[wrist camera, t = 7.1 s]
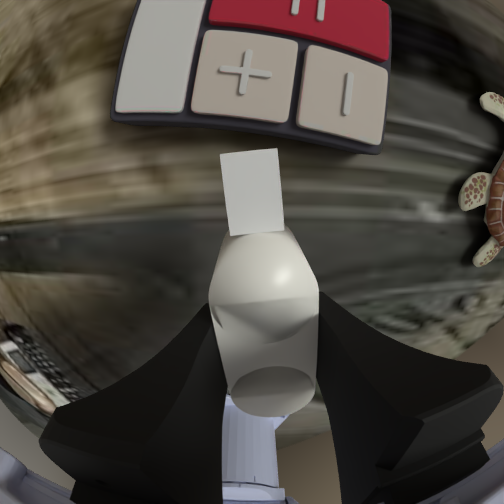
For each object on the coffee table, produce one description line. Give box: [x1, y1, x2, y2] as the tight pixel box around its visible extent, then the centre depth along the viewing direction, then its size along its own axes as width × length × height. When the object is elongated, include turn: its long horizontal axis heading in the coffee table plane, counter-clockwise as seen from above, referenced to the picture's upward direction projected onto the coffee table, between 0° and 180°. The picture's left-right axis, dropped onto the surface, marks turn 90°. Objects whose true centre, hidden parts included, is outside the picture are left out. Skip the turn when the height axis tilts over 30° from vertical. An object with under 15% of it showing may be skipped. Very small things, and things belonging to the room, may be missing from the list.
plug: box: [209, 148, 319, 417], centre depth 9 cm, size 9×3×4 cm, turn 6°
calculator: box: [110, 0, 391, 155], centre depth 12 cm, size 11×4×15 cm
